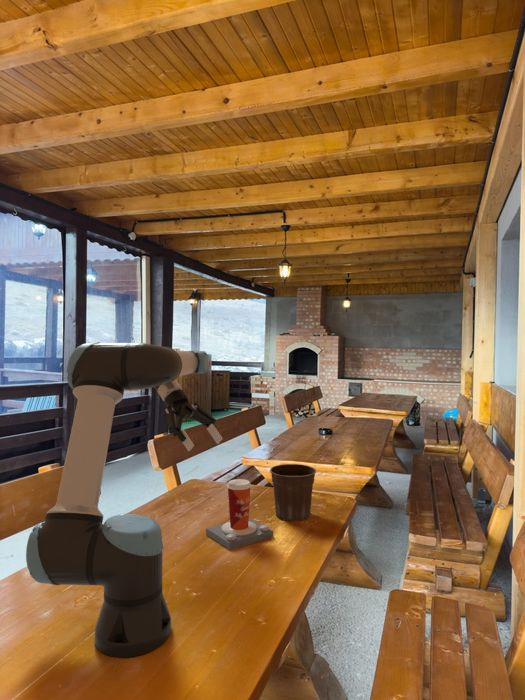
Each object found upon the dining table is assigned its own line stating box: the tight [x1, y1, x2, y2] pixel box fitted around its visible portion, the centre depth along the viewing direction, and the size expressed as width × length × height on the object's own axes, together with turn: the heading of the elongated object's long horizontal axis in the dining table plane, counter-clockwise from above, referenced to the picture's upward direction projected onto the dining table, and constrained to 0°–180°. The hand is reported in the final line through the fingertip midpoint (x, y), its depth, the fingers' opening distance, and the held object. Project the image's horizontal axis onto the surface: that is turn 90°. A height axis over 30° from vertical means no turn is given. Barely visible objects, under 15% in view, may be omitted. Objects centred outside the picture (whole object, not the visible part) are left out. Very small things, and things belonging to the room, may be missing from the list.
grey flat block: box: [205, 517, 274, 551], centre depth 147 cm, size 16×14×3 cm
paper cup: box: [226, 478, 252, 530], centre depth 147 cm, size 8×8×14 cm
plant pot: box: [269, 463, 317, 522], centre depth 165 cm, size 16×16×16 cm
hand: (206, 444), depth 152 cm, fingers open, 13 cm apart
